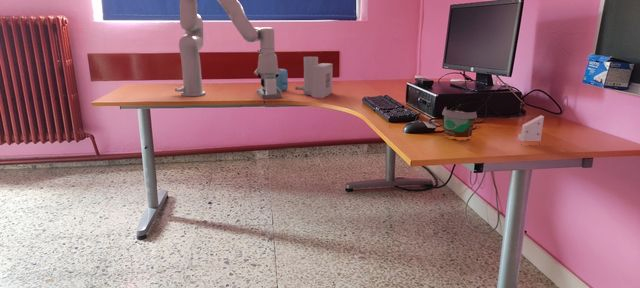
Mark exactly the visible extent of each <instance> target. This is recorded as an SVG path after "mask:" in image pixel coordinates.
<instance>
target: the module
mask: <svg viewBox="0 0 640 288" xmlns="http://www.w3.org/2000/svg"><path fill="white" fill-rule="evenodd" d="M266 77H274V74H264V77H263V78H264V87H263V89H264V90H266V87H265V78H266Z"/></svg>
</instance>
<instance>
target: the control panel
mask: <svg viewBox="0 0 640 288" xmlns="http://www.w3.org/2000/svg"><path fill="white" fill-rule="evenodd" d="M333 64H334V63H328V62H326V63H325V62H324V63H323V62H322V63H319V57H318V56H303V86H295V91H296V90H297V91H303V92H302V93H303V95H308V96H311V97H312V98H316V99H324V98H325V97H328V96H330V95H331V93H332V94H333ZM329 94H330V95H329Z"/></svg>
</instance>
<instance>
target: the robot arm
mask: <svg viewBox="0 0 640 288" xmlns="http://www.w3.org/2000/svg"><path fill="white" fill-rule="evenodd" d="M216 1H217V2H218V3H219V4H220V6H221V7H222V9H223V10H224V11H225V13H226V14H227V16H228V17H229V19H230V21H231V22H232V24H233V25H234V27H235V28H236V30H237V31H238V32H239V34H240V35H241V37H242V38H243V39H244V40H245V42H248V43H254V42H259V49H257V51H256V53H259V54H258V59H257V68H256V69H255V71H254V72H253V74H254V75H256V76H257V77H259V79H260V86H261V85H262V87H264V78H263V77H264V74H274V77H276V78H277V77H278V76H279V75H280V74H281V73H282V72H281V71H280V69H281V68H279V64H278V56H277V54H276V53H275V46H276V45H275V30H274V28H273V27H258V26H257V27H255V26H253V24H252V23H251V22H250V20H249V19H248V17H247V15H246V14H245V10H244V8H243V5H242V4H241V3H240V1H239V0H216ZM179 24H180V27H181V28H182V29H183V30H184V31H185V32H184V33H185V34H184V35H182V36H181V37H180V39H179V41H178V49H179V54H180V60H181V72H182V81H183V82H182V84H183V85H182V86H180V87H174V92H179V93H180V92H181V93H180V95H181V96H183V97H202V96H204V95H206V91H204V90H203V81H202V80H203V79H202V66H201V65H202V64H201V57H200V52H199V51H200V50H201V49H202V48H203V45H204V22H203V18H202V17H201V15H200V14H198V1H197V0H179ZM276 73H277V74H276ZM275 74H276V75H275Z"/></svg>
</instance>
